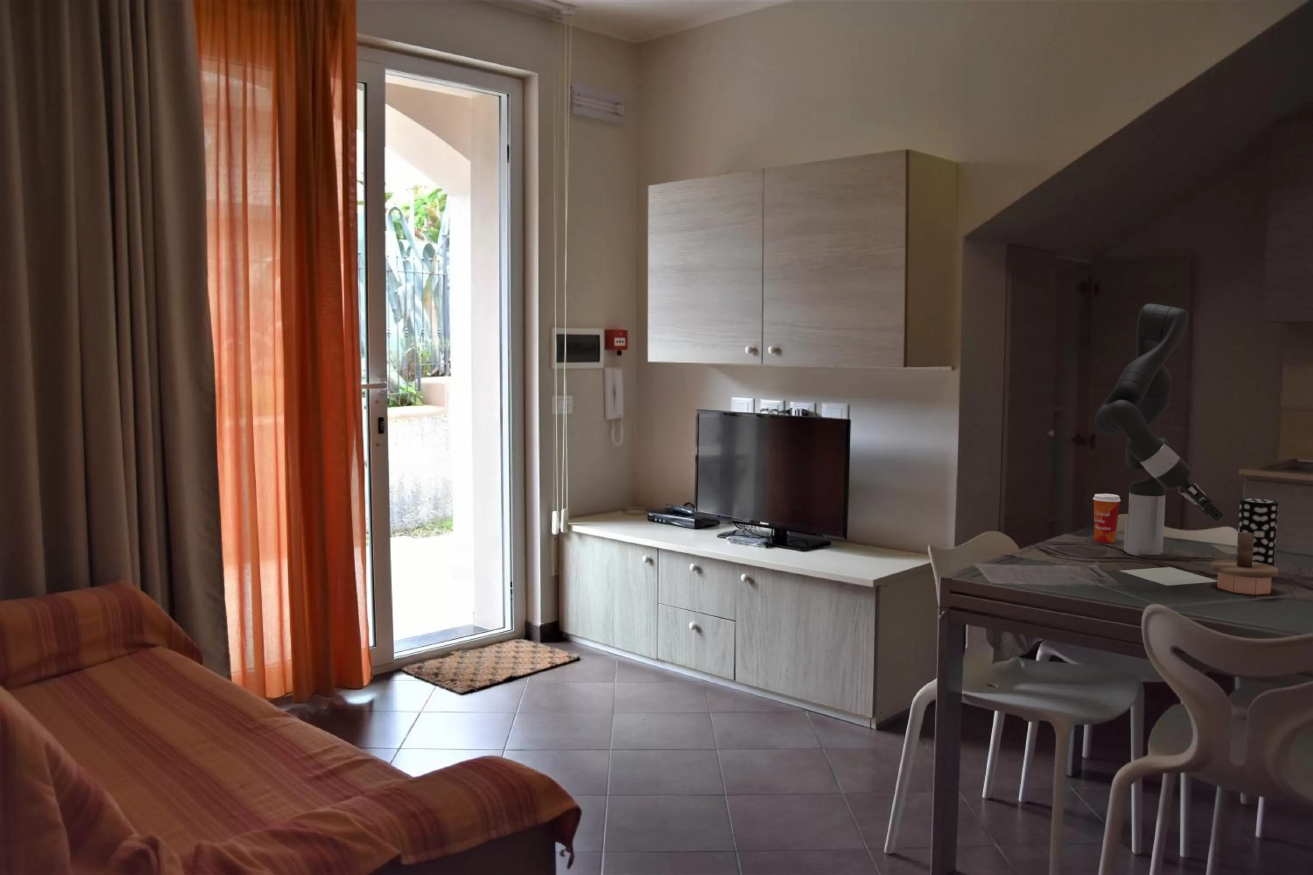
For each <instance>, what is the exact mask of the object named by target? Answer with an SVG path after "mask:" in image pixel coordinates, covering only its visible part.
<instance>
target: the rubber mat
mask: <svg viewBox="0 0 1313 875" xmlns="http://www.w3.org/2000/svg"><path fill="white" fill-rule="evenodd" d="M1120 572H1121V573H1125V574H1128V575H1131V576H1135V577H1138V578H1142V579H1143V580H1144V579H1145V580H1147V581H1150V582H1154V583H1158V584H1160V585H1164V586H1167V587H1169V586H1179V585H1193V584H1206V583H1216V582H1217V581H1218V579H1217V580H1216V579H1214V578H1213V579H1212V578H1209V577H1206V576H1203V575H1199V574H1196V573H1194V572H1189V571H1185V570H1181V569H1177V568H1175V567H1171V566H1167V567H1153V568H1138V569H1137V568H1136V569H1126V570H1120Z"/></svg>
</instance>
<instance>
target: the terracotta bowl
mask: <svg viewBox="0 0 1313 875" xmlns="http://www.w3.org/2000/svg"><path fill="white" fill-rule="evenodd" d="M1272 581H1273V580H1272V577H1271V578H1251V577H1241V576H1234V575H1228V574H1224V573H1220V572H1217V584H1216V585H1217V586H1216V587H1217V588H1218V589H1221V590H1224V591H1228V592H1231V593H1237V594H1245V595H1246V594H1247V595H1255V596H1253V598H1256V599H1257V598H1267V597H1271V595H1266V594H1271V592H1272ZM1264 594H1265V595H1264Z"/></svg>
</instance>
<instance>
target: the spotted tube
mask: <svg viewBox="0 0 1313 875" xmlns="http://www.w3.org/2000/svg"><path fill="white" fill-rule="evenodd" d="M1278 512H1279V501H1277V500H1273V499H1269V498H1268V499H1266V498H1257V497H1254V498H1253V497H1244V498H1240V499H1239V514H1238V529H1237V538H1238V537H1239V532H1248V533H1253V534H1254V545H1253V560H1252V562H1258V563H1263V564H1268V565H1271V566H1274V567H1275V559H1276V558H1275V557H1276V542H1277V529H1278V527H1277V526H1278V525H1277V524H1278V514H1279V513H1278ZM1237 553H1238V540H1237V542H1236V554H1237ZM1235 557H1236V558H1235V560H1237V555H1236V556H1235ZM1271 581H1274V577H1272V580H1271Z"/></svg>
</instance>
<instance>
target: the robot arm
mask: <svg viewBox="0 0 1313 875" xmlns="http://www.w3.org/2000/svg"><path fill="white" fill-rule="evenodd" d="M1138 313H1139V314H1138V317H1137V323H1136V358H1135V359H1134V360H1132V361H1131V362H1130V363H1129V364H1128V365H1126V367H1125V368H1124V369H1123V371H1122V372H1121V374H1120V377H1119V378H1118V381H1117V382H1116V385H1115V386H1114V389H1113V390H1112V392H1111V393H1110V394H1109V395H1108V396H1107V397H1106V398H1105V400H1104V401H1103V402H1102V404H1101V405H1100V407H1099V408H1098V409H1097V412H1096V415H1095V417H1094V418H1095V420H1094V421H1095V422H1094V423H1095V426H1096V428H1097V430H1098V431H1099V432H1100V433H1102V434H1103V435H1108V436H1113V435H1116V434H1119V433H1121V432H1122V431H1124V433H1125V434H1126V436H1127V440H1126V442H1125V454H1124V456H1125V457H1124V458H1125V464H1126V466H1127V467H1128V468H1129V469H1133V470H1145V471H1146V472H1148V474H1150V475H1149V476H1147V477H1145V478H1143V479H1138V480H1135V481H1131V483H1130V484H1129V488H1128V489H1129V490H1128V491H1129V492H1128V511H1127V517H1126V518H1125V519H1124V520H1125V521H1124V538H1123V551H1124V552H1125V553H1126V554H1129V555H1131V556H1137V557H1138V556H1139V557H1141V556H1159V555H1163V551H1164V550H1163V546H1164V529H1165V515H1166V514H1165V513H1166V512H1165V510H1166V494H1167V493H1166V491H1170V490H1173V489H1176V488H1177V492H1178V493H1179V494H1180V495H1181V496H1184V498H1185V499H1186V500H1187V501H1189V502H1191V503H1192V504H1193V505H1196V507H1198V509H1200V511H1202V513H1204V515H1209V516H1210V518H1212V519H1213V520H1214V521H1219V520H1220V519H1221V518H1223V516H1224V514H1223V513H1222V511H1220V510H1219V509H1218V508H1217V507H1216V506H1215V505H1214V503H1213V501H1212V499H1209V497H1208V496H1207V494H1206V493H1205V492H1204V491H1203V490H1202V488H1200V486H1199V485H1198V484H1197V483H1196V482H1195V481H1193V480H1192V479H1190V480H1188V478H1189V477H1190V476H1191V474H1192V471H1193V469H1192V468H1191V467H1190V466H1189V465H1188V464H1187V463H1186V462H1185V461H1184V460H1183V459H1182V458H1181V457H1180V456H1179V455H1178V454H1177V453H1176V452H1175V451H1174V450H1173V449H1172V448H1170V444H1169V440H1168V439H1167V438H1166V437H1158V436H1157V435H1156V434H1155V433H1154V432H1152V429H1151V428H1150V425H1151V424H1152V423H1154V421H1156V419H1158V418H1159V417H1160V416H1161V415H1162V414H1163V413H1164V412H1165V410H1166V409H1167V408H1168V406H1169V405H1170V401H1171V396H1172V394H1171V393H1172V387H1173V386H1172V384H1173V383H1172V377H1171V375H1170V373H1169V370H1168V369H1167V368H1166V367H1165V365H1164V364H1165V363H1166V362H1167V360H1168V359H1169V358H1170V356H1171V354H1173V352H1174V351H1175V350H1176V348H1177V347H1178V345H1179V343H1180V342H1181V341H1182V340H1183V337H1184V335H1185V334H1186V331H1187V328H1188V323H1189V314H1188V312H1187V310H1185V309H1184V308H1179V307H1176V306H1175V307H1174V306H1169V305H1165V304H1164V305H1162V304H1157V303H1147V304H1145V305H1143V306H1142V307H1141V309H1140V311H1139V312H1138ZM1155 342H1159V343H1158V344H1157V345H1156V346H1155Z"/></svg>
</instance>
